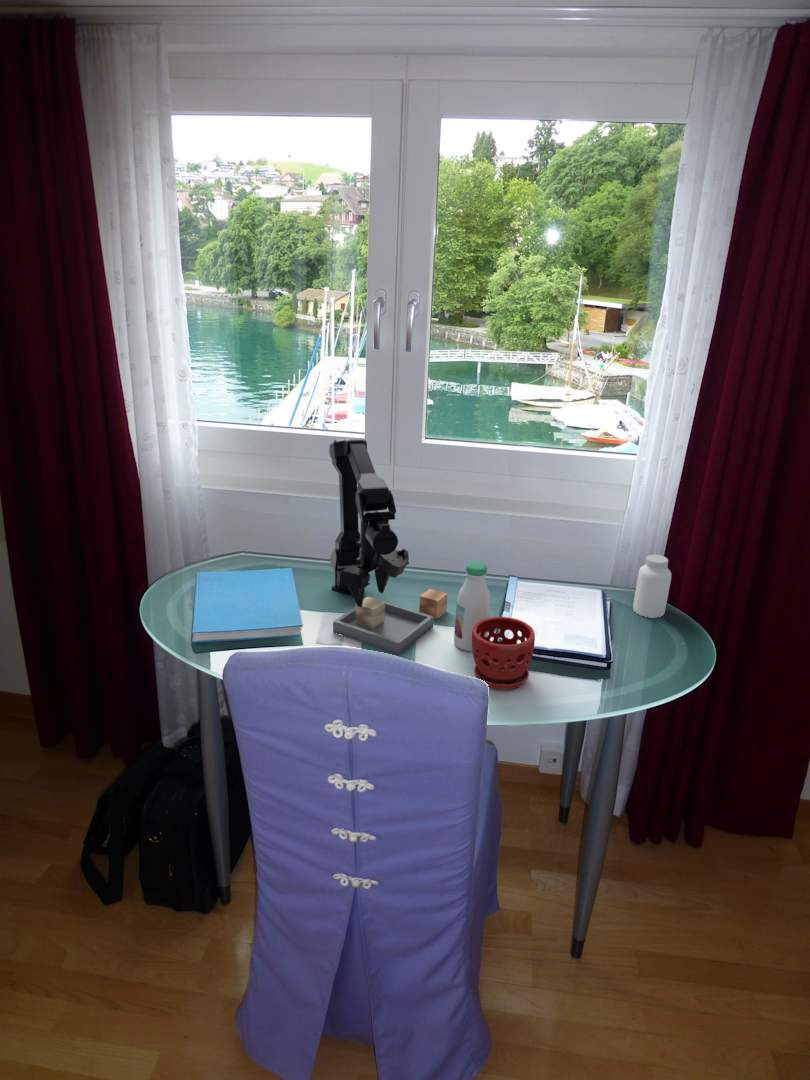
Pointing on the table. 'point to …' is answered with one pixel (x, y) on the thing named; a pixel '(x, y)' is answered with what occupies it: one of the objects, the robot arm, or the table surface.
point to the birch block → (370, 612)
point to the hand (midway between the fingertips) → (370, 599)
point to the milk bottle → (471, 605)
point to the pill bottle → (652, 587)
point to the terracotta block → (433, 603)
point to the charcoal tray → (387, 628)
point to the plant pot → (502, 652)
